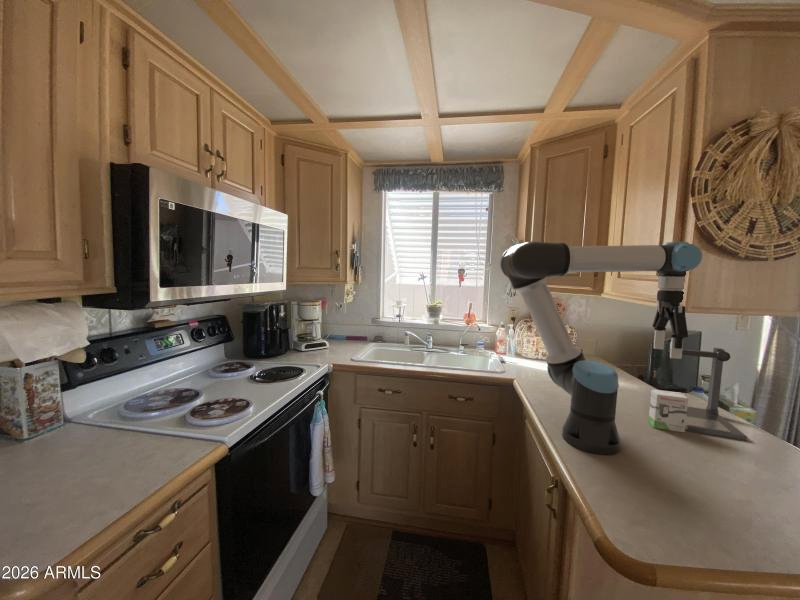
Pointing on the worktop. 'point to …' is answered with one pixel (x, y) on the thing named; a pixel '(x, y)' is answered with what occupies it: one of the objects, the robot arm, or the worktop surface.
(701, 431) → the press
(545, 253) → the robot arm
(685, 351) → the lever
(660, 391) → the ink box
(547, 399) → the worktop surface
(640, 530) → the worktop surface
